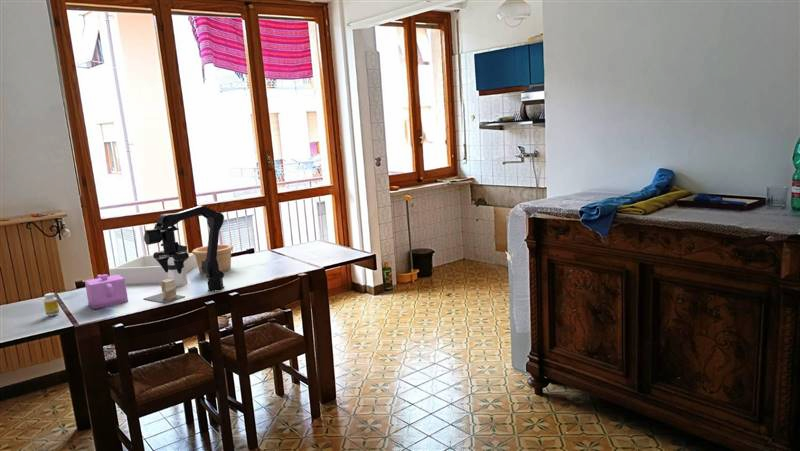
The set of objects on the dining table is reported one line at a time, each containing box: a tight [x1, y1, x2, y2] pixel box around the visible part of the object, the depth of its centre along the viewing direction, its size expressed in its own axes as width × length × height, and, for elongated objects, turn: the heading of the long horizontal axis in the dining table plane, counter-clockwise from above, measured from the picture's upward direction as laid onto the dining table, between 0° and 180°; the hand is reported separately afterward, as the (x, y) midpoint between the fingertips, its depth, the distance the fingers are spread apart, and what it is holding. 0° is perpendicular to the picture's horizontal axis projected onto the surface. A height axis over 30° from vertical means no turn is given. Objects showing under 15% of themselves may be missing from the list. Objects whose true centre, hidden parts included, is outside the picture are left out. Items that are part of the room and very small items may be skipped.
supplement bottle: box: [43, 292, 60, 316], centre depth 267 cm, size 5×5×10 cm
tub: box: [109, 252, 198, 285], centre depth 330 cm, size 34×34×9 cm
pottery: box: [191, 243, 234, 276], centre depth 328 cm, size 22×22×14 cm
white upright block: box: [168, 262, 188, 288], centre depth 305 cm, size 9×8×12 cm
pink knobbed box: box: [84, 274, 129, 310], centre depth 280 cm, size 15×25×14 cm, turn 38°
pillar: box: [160, 279, 178, 300], centre depth 278 cm, size 4×4×9 cm
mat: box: [143, 292, 186, 304], centre depth 281 cm, size 18×11×1 cm, turn 55°
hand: (173, 273), depth 275 cm, fingers open, 9 cm apart
